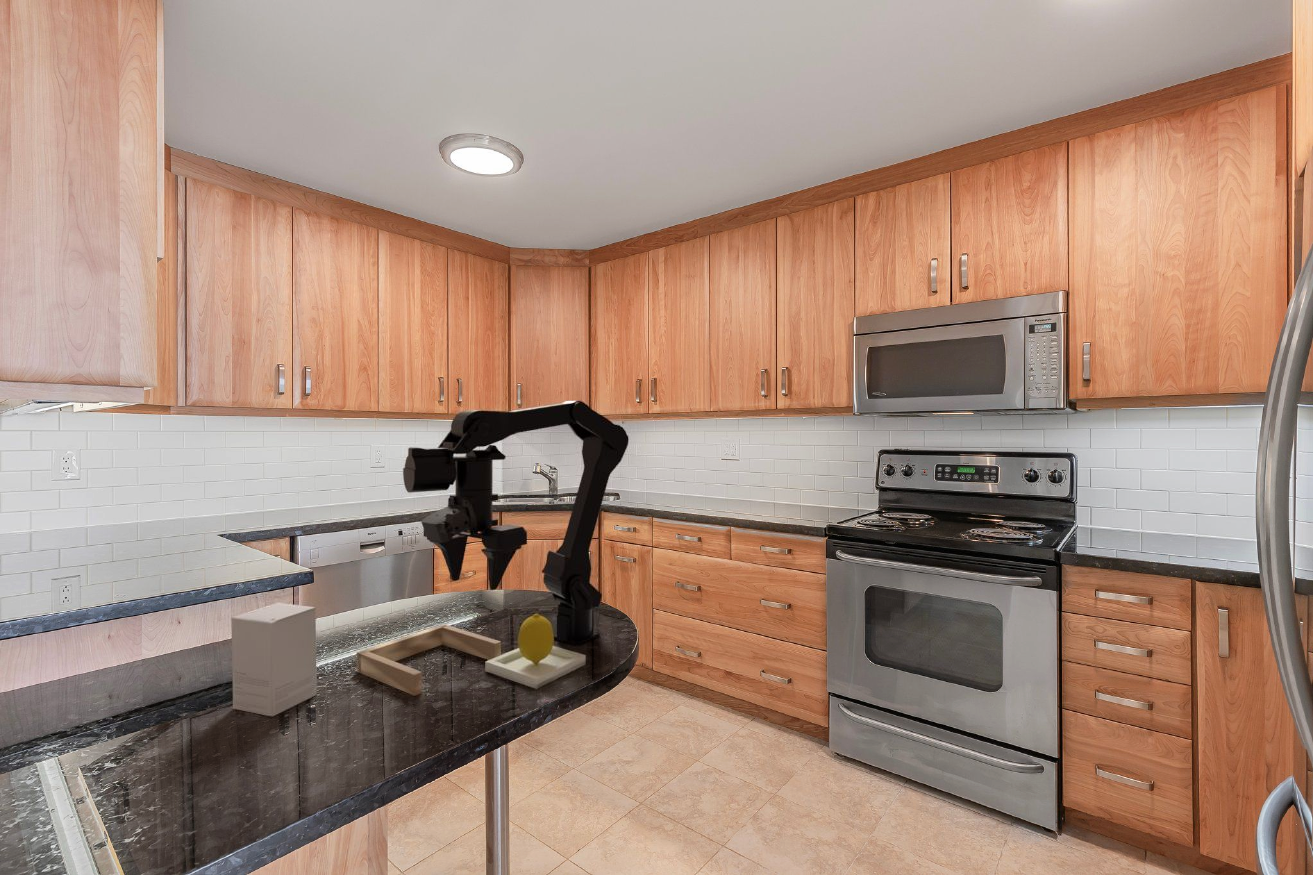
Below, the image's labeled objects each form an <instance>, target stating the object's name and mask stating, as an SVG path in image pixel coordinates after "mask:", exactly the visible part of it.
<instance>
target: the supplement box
mask: <svg viewBox="0 0 1313 875" xmlns="http://www.w3.org/2000/svg"><path fill="white" fill-rule="evenodd" d="M316 610H317V609H316V607H315V606H308V605H298V604H290V603H284V602H276V603H272V604H269V605H267V606H262V607H260V608H259V607H258V608H257V609H254V610H251V611H247V612H244V613H241V614H239V615H235V616H233V617H231V618H230V620H231V657H232V659H231V663H232V666H231V668H232V669H231V670H232V671H231V672H232V708H233V710H238V711H243V712H246V713H247V712H248V713H253V714H258V715H263V716H267V717H274V716H276V715H279V714H281V713H283V712H284V711H287V710H289V709H291V708H293V707H295V706H298V705H299V704H301V703H303V702H305V701H307V700H309V699H311V698H312V697H315V696H316V695H317V693H318V688H317V686H318V682H317V680H318V678H317V675H318V674H317V669H318V668H317V629H316V628H317V627H316V626H317V625H316V622H317V619H316V618H317V616H316V615H317V614H316V613H317V612H316Z"/></svg>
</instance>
